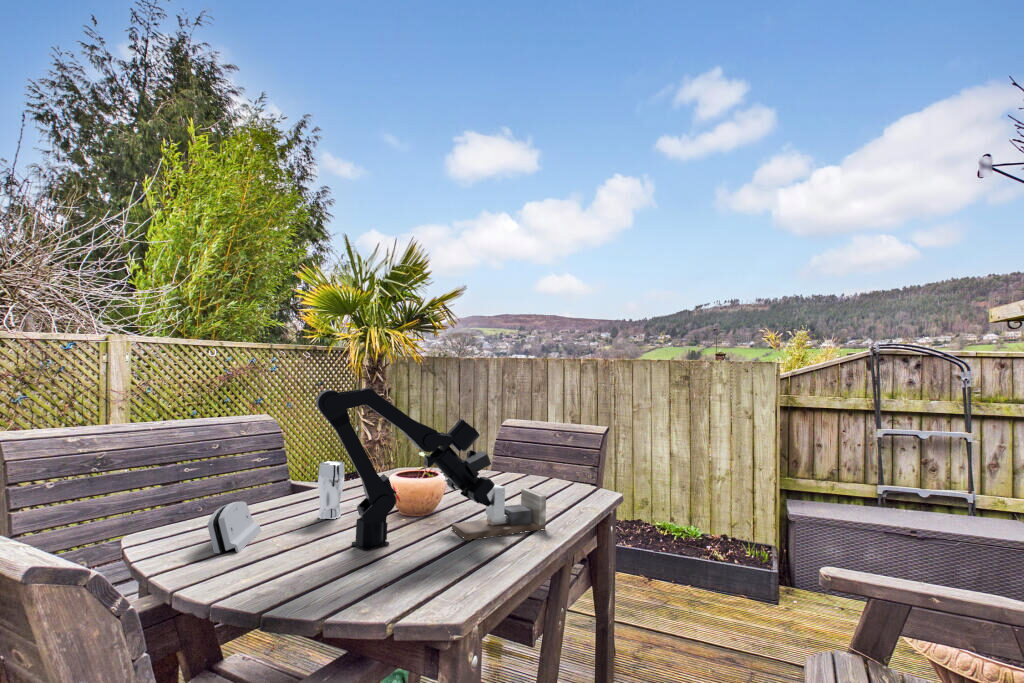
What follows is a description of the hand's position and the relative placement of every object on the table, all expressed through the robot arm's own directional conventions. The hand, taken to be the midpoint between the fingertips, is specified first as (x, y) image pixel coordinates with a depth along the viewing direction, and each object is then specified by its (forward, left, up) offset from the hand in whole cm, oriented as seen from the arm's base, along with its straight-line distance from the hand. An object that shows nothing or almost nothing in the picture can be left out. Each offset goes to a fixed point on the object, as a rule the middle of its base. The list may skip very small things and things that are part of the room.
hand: (489, 504), depth 135 cm
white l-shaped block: (+5, -2, -5) cm, 7 cm away
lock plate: (+3, -1, -7) cm, 7 cm away
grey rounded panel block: (-50, +35, -7) cm, 62 cm away
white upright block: (-23, +39, -7) cm, 46 cm away
